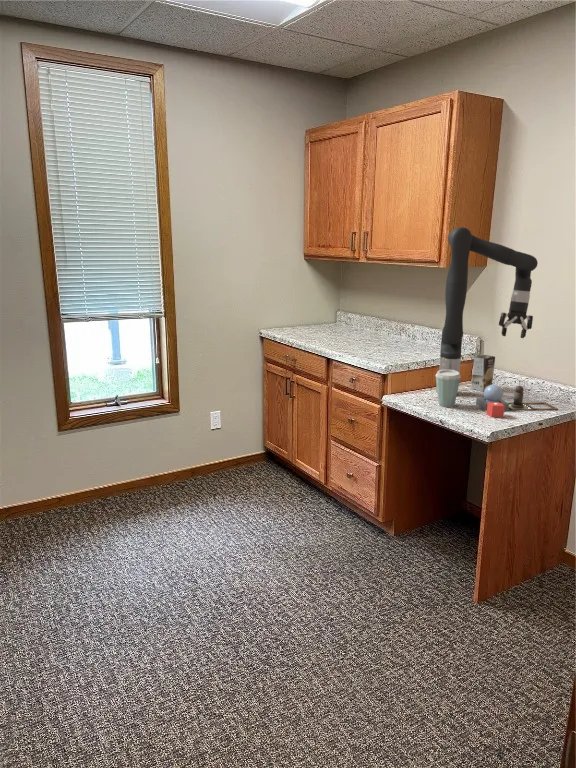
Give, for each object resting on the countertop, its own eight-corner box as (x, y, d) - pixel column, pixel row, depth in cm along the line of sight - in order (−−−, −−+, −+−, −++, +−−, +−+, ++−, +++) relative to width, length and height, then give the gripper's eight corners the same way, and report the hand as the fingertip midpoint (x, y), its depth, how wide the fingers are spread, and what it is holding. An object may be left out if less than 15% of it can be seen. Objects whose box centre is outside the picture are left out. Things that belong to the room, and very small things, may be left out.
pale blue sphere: (487, 406, 238) (489, 387, 236) (479, 401, 246) (481, 382, 244) (504, 406, 239) (506, 387, 237) (496, 401, 246) (498, 382, 244)
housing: (485, 410, 237) (486, 404, 237) (475, 404, 247) (476, 397, 246) (508, 410, 238) (509, 403, 237) (497, 404, 248) (498, 397, 247)
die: (491, 417, 228) (492, 405, 227) (486, 414, 233) (487, 402, 232) (503, 417, 228) (504, 405, 227) (498, 413, 233) (499, 401, 232)
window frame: (510, 410, 238) (510, 409, 238) (500, 404, 248) (500, 402, 248) (557, 410, 240) (557, 408, 240) (545, 403, 250) (545, 402, 249)
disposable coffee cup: (459, 409, 239) (462, 375, 235) (433, 407, 241) (436, 373, 237) (457, 402, 249) (460, 369, 245) (432, 401, 251) (434, 368, 247)
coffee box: (482, 391, 269) (486, 358, 265) (470, 389, 273) (473, 356, 270) (492, 388, 275) (495, 356, 271) (480, 386, 280) (483, 354, 276)
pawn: (514, 408, 241) (516, 387, 239) (509, 405, 246) (511, 384, 244) (525, 408, 241) (528, 387, 239) (520, 405, 246) (522, 384, 244)
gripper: (507, 300, 247) (501, 336, 250) (539, 303, 248) (532, 339, 251) (500, 298, 254) (494, 334, 257) (531, 302, 255) (524, 337, 258)
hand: (513, 337), depth 254 cm, fingers open, 8 cm apart
